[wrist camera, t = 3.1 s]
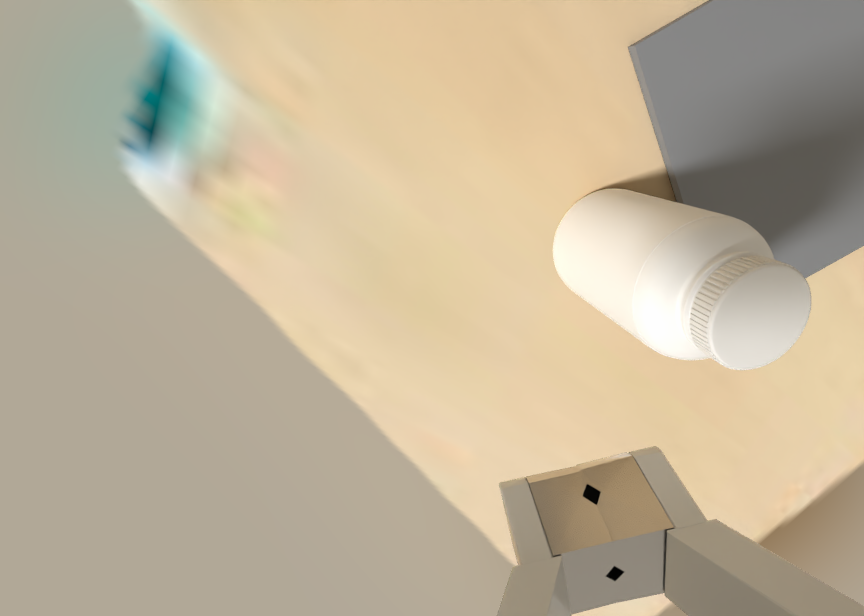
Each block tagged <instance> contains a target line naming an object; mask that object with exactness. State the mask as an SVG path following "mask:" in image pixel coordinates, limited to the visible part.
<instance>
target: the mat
mask: <svg viewBox="0 0 864 616" xmlns="http://www.w3.org/2000/svg"><path fill="white" fill-rule="evenodd" d="M628 49H629V52H630V55H631V58H632V62H633V65H634V68H635V71H636V74H637V77H638V81H639V84H640V87H641V90H642V93H643V96H644V100H645V103H646V106H647V109H648V112H649V115H650V118H651V122H652V125H653V128H654V131H655V134H656V137H657V141H658V144H659V147H660V150H661V153H662V156H663V160H664V163H665V166H666V169H667V172H668V175H669V178H670V182H671V185H672V188H673V191H674V194H675V197H676V201H677V203H681V204H685V205H689V206H693V207H697V208H701V209H704V210H708V211H712V212H716V213H720V214H724V215H728V216H731V217H734V218H737V219H739V220H742V221H744V222H745V223H747V224H749V225H750V226H751V227H753V228H754V229H755V230H756V231H757V232H758V233H759V234H760V235H761V236H762V237H763V238H764V239H765V241H766V242H767V244H768V245H769V247H770V249H771V251H772V254H773V257H774V260H777V261H780V262H783V263H786V264H789V265H791V266H793V267H794V268H796V269H797V270H799V271H800V273H802V275H803V277H805V278H807V277H809V276H810V275H812V274H814V273H816V272H817V271H819V270H821V269H823V268H825V267H826V266H828V265H830V264H832V263H834V262H835V261H837V260H839V259H841V258H843V257H844V256H846V255H848V254H850V253H852V252H853V251H855V250H857V249H859V248H860V247H862V246H864V0H709V1H707V2H705V3H704V4H702V5H700V6H698V7H697V8H695V9H693V10H691V11H690V12H688V13H686V14H684V15H683V16H681V17H679V18H678V19H676V20H674V21H672V22H671V23H669V24H667V25H665V26H664V27H662V28H660V29H658V30H657V31H655V32H653V33H652V34H650V35H648V36H646V37H645V38H643V39H641V40H639V41H638V42H636V43H634V44H632V45H631V46H629V47H628Z"/></svg>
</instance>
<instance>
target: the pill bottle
mask: <svg viewBox="0 0 864 616" xmlns="http://www.w3.org/2000/svg"><path fill="white" fill-rule="evenodd" d="M553 260H554V264H555V268H556V270H557V272H558V274H559V276H560V278H561V279H562V281H563V282H564V283H565V284H566V285H567V286H568V287H569V288H570V289H571V290H572V291H573V292H574V293H576V294H577V295H578V296H580V297H581V298H583V299H584V300H585V301H587V302H588V303H589V304H591V305H592V306H594V307H595V308H596V309H598V310H599V311H600V312H602V313H603V314H604V315H606V316H607V317H609V318H610V319H611V320H613V321H614V322H615V323H617V324H618V325H619V326H621V327H622V328H624V329H625V330H626V331H628V332H629V333H630V334H632V335H633V336H634V337H636V338H637V339H639V340H640V341H641V342H643V343H644V344H645V345H647V346H648V347H650V348H651V349H653V350H654V351H656V352H658V353H660V354H662V355H664V356H667V357H671V358H675V359H681V360H702V359H707V358H712V359H713V360H715V361H716V362H718V363H720V364H721V365H723V366H725V367H727V368H730V369H735V370H750V369H756V368H759V367H762V366H765V365H767V364H769V363H771V362H773V361H775V360H776V359H778V358H779V357H781V356H782V355H783V354H784V353H785V352H787V351H788V350H789V349H790V348H791V347H792V345H793V344H794V343H795V342H796V341H797V339H798V338H799V336H800V335H801V333H802V332H803V330H804V328H805V326H806V323H807V321H808V318H809V314H810V310H811V292H810V288H809V285H808V283H807V281H806V279H805V277H803V275H802V273H800V271H799V270H797V269H796V268H794V267H793V266H791V265H789V264H786V263H783V262H780V261H777V260H774V257H773V254H772V251H771V249H770V247H769V245H768V244H767V242H766V241H765V239H764V238H763V237H762V236H761V235H760V234H759V233H758V232H757V231H756V230H755V229H754V228H753V227H751V226H750V225H749V224H747V223H745V222H744V221H742V220H739V219H737V218H734V217H731V216H728V215H724V214H720V213H716V212H712V211H708V210H704V209H701V208H697V207H693V206H689V205H685V204H681V203H677V202H673V201H669V200H666V199H662V198H658V197H654V196H650V195H646V194H642V193H638V192H634V191H631V190H626V189H604V190H599V191H596V192H593V193H591V194H589V195H587V196H585V197H583V198H582V199H580V200H579V201H578V202H576V203H575V204H574V205H573V206H572V207H571V208H570V209H569V210H568V211H567V213H566V214H565V215H564V217H563V218H562V220H561V222H560V224H559V226H558V228H557V230H556V233H555V237H554V242H553Z"/></svg>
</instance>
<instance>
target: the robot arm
mask: <svg viewBox="0 0 864 616" xmlns="http://www.w3.org/2000/svg"><path fill="white" fill-rule="evenodd" d="M499 487H500V491H501V496H502V500H503V504H504V509H505V513H506V518H507V522H508V527H509V531H510V535H511V539H512V544H513V548H514V551H515V555H516V559H517V563H518V566H514V567H513V568H512V571H511V574H510V577H509V580H508V583H507V586H506V589H505V592H504V595H503V598H502V602H501V605H500V608H499V611H498V614H497V616H571V614H575V613H579V612H583V611H587V610H590V609H594V608H598V607H602V606H605V605H609V604H613V603H616V602H622V601H627V600H632V599H637V598H642V597H647V596H652V595H657V594H662V593H665V596H666V597H667V598H668V599H669V600H670V601H672V602H673V603H674V604H675V605H676V606H677V607H679V608H680V609H681V610H682V611H683V612H684V613H686V614H687V615H688V616H864V606H863V605H861V604H860V603H858V602H856V601H854V600H853V599H851V598H849V597H848V596H846V595H844V594H842V593H841V592H839V591H837V590H836V589H834V588H832V587H831V586H829V585H827V584H825V583H824V582H822V581H820V580H819V579H817V578H815V577H814V576H812V575H810V574H808V573H806V572H805V571H803V570H802V569H800V568H798V567H797V566H795V565H793V564H791V563H789V562H788V561H786V560H784V559H783V558H781V557H779V556H777V555H776V554H774V553H772V552H771V551H769V550H768V549H766V548H764V547H762V546H761V545H759V544H757V543H756V542H754V541H752V540H751V539H749V538H747V537H745V536H744V535H742V534H740V533H739V532H737V531H735V530H734V529H732V528H730V527H728V526H727V525H725V524H723V523H722V522H720V521H718V520H717V519H714V520H709V521H707V519H706V518H705V516H704V515H703V513H702V512H701V510H700V509H699V507H698V506H697V504H696V503H695V501H694V500H693V498H692V497H691V495H690V494H689V492H688V491H687V489H686V487H685V486H684V484H683V483H682V481H681V480H680V478H679V477H678V475H677V474H676V472H675V471H674V469H673V468H672V466H671V465H670V463H669V462H668V460H667V459H666V457H665V455H664V454H663V452H662V451H661V450H660V449H659V448H658V447H656V446H653V447H649V448H645V449H641V450H637V451H632V452H629V453H627V452H625V453H621V454H617V455H614V456H610V457H606V458H602V459H598V460H594V461H590V462H586V463H582V464H578V465H576V466H575V467H570V468H565V469H560V470H556V471H551V472H546V473H541V474H537V475H532V476H527V477H526V478H525V477H523V478H518V479H514V480H509V481H505V482H501V483H499Z"/></svg>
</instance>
